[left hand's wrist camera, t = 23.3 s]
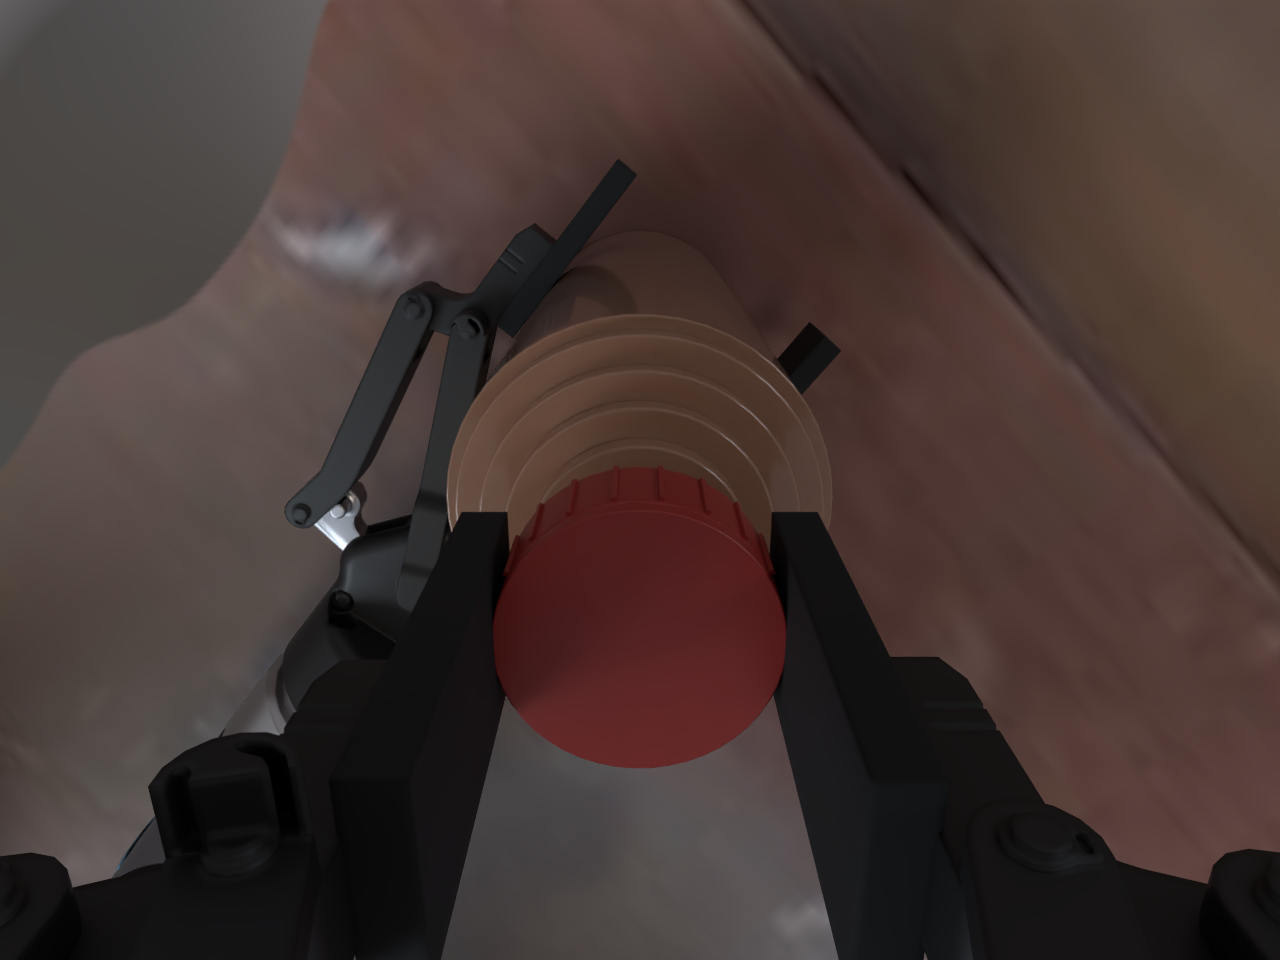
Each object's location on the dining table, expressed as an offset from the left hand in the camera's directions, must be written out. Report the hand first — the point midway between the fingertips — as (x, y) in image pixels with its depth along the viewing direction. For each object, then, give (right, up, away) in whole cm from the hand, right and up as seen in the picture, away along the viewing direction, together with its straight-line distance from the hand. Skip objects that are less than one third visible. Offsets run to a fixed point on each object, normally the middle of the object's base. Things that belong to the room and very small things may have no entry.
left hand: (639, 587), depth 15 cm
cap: (0, -1, -1) cm, 2 cm away
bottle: (0, +8, +22) cm, 23 cm away
